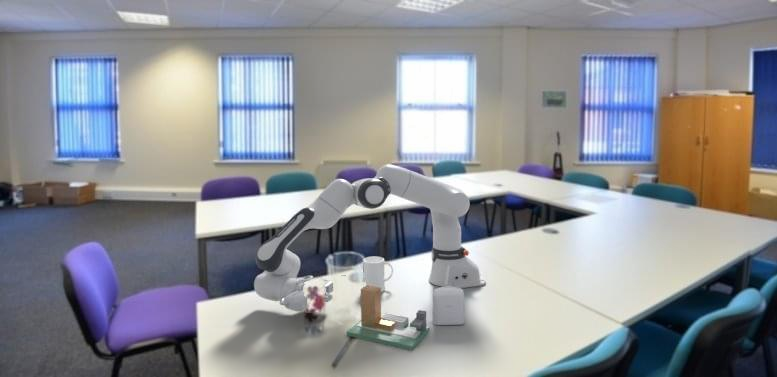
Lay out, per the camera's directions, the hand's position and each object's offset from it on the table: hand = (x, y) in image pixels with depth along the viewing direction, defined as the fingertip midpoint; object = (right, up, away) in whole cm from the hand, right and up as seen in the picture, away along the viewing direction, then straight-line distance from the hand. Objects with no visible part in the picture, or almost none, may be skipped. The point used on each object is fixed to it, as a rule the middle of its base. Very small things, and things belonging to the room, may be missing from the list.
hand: (330, 298), depth 159 cm
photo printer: (+39, -8, -1) cm, 39 cm away
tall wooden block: (+16, -7, -6) cm, 19 cm away
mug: (+15, -3, +29) cm, 33 cm away
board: (+19, -9, -8) cm, 22 cm away
